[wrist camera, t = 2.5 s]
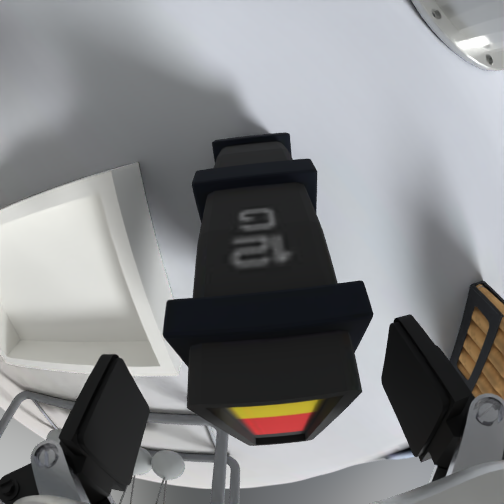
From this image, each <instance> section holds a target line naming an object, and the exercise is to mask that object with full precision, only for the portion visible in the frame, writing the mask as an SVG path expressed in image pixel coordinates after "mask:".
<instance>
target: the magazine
mask: <svg viewBox="0 0 504 504" xmlns="http://www.w3.org/2000/svg"><path fill="white" fill-rule="evenodd" d="M212 146H213V153H214V159H215V166H214V168H213V169H206V170H199V171H196V173H195V176H194V179H193V182H192V188H193V192H194V196H195V200H196V204H197V208H198V212H199V216H200V220H201V223H202V224H201V229H200V234H199V240H198V246H197V256H196V267H195V278H194V289H193V298H187V299H173V300H168V301H167V302H166V309H165V317H164V325H163V337H164V338H165V340H166V341H167V342H168V343H169V345H170V346H171V347H172V348H173V349H174V351H175V352H176V353H177V354H178V356H179V357H180V358H181V359H182V360H183V361H184V363H185V364H186V365H187V366H188V367H189V368H188V394H187V408H188V409H189V410H191V411H192V412H194V413H195V414H197V415H199V416H200V417H202V418H203V419H205V420H206V421H208V422H210V423H211V424H213V425H214V426H216V427H218V428H219V429H221V430H223V431H224V432H226V433H228V434H230V435H231V436H233V437H235V438H237V439H238V440H240V441H242V442H244V443H246V444H247V445H250V446H256V445H271V444H283V443H292V442H301V441H308V440H312V439H314V438H315V437H316V436H317V435H318V434H319V433H320V432H321V431H323V430H324V429H325V428H326V427H327V426H328V425H329V424H330V423H331V422H332V421H333V420H334V419H336V418H337V417H338V416H339V415H340V414H341V413H342V412H343V411H344V410H345V409H346V408H347V407H348V406H349V405H350V404H351V403H352V402H353V401H354V400H355V399H356V398H357V397H358V396H359V395H360V394H361V392H362V389H361V383H360V378H359V373H358V368H357V363H356V359H355V354H354V353H355V351H356V349H357V347H358V345H359V343H360V341H361V339H362V337H363V335H364V333H365V331H366V329H367V327H368V325H369V323H370V321H371V319H372V317H373V311H372V308H371V305H370V301H369V298H368V295H367V292H366V288H365V285H364V283H363V281H353V282H346V283H337V279H336V276H335V272H334V268H333V265H332V261H331V257H330V254H329V250H328V247H327V244H326V240H325V237H324V233H323V230H322V228H321V225H320V222H319V220H318V217H317V215H316V202H317V170H316V168H315V167H314V165H313V163H312V161H311V160H310V159H298V160H293V159H292V157H291V144H290V134H288V133H275V134H264V135H254V136H245V137H236V138H228V139H221V140H215V141H213V142H212Z"/></svg>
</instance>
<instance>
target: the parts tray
mask: <svg viewBox="0 0 504 504" xmlns="http://www.w3.org/2000/svg"><path fill="white" fill-rule="evenodd" d="M173 299H174V298H173V295H172V292H171V288H170V285H169V282H168V278H167V275H166V272H165V268H164V265H163V261H162V258H161V254H160V251H159V247H158V243H157V239H156V236H155V232H154V228H153V224H152V220H151V216H150V212H149V208H148V204H147V199H146V195H145V191H144V186H143V182H142V177H141V173H140V168H139V163H138V162H136V163H132V164H129V165H125V166H121V167H118V168H114V169H111V170H107V171H104V172H100V173H97V174H94V175H91V176H87V177H84V178H81V179H78V180H75V181H72V182H69V183H66V184H63V185H60V186H58V187H55V188H52V189H49V190H46V191H44V192H41V193H38V194H36V195H33V196H31V197H28V198H26V199H23V200H21V201H18V202H16V203H13V204H11V205H9V206H6V207H4V208H2V209H0V355H1V356H2V358H3V360H4V361H5V363H6V364H10V365H15V366H22V367H28V368H35V369H43V370H51V371H60V372H70V373H81V374H91V372H92V370H93V368H94V367H95V365H96V363H97V361H98V359H99V358H100V356H101V355H103V354H117V355H118V356H119V357H120V358H122V359H123V360H124V362H125V364H126V366H127V368H128V370H129V372H130V374H131V376H178V375H179V371H180V367H181V364H182V359H181V358H180V357H179V356H178V354H177V353H176V352H175V351H174V349H173V348H172V347H171V346H170V345H169V343H168V342H167V341H166V340H165V338H164V337H163V325H164V317H165V309H166V302H167V301H168V300H173Z"/></svg>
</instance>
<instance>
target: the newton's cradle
mask: <svg viewBox="0 0 504 504" xmlns="http://www.w3.org/2000/svg"><path fill="white" fill-rule="evenodd" d="M25 399H32V400H33V402H34V403H35V404H36V406H37V407H38V408H39V410H40V411H41V412H42V413H43V415H44V416H45V417H46V418H47V420H48V421H49V422H50V423H51V425H52V426H53V427H54V428H55V429H54V430H51V431H50V432H49V433H48V435H47V439H46V440H53V441H56V442H57V443H58V444H59V443H60V439H59V438H58V437H59V435H60V433H61V431H62V430H60V429H58V428H57V427H56V426H55V425H54V424H53V422H52V421H51V420H50V419H49V417H48V416H47V415H46V414H45V412H44V411H43V410H42V409H41V407H40V406H39V405H38V403H37V402H36V401H39V402H42V403H46V404H50V405H54V406H58V407H62V408H66V409H70V410H72V408H73V406H74V404H75V402H73V401H68V400H63V399H59V398H55V397H50V396H46V395H42V394H38V393H35V392H31V391H24V392H21V393H19V394H18V395H17V396H16V397H15V398H14V399H13V401H12V403H11V404H10V406H9V407H8V409H7V411H6V412H5V414H4V415H3V417H2V419H1V420H0V438H1V436H2V434H3V432H4V430H5V429H6V427H7V425H8V423H9V421H10V420H11V418H12V417H13V415H14V413H15V412H16V410H17V408H18V407H19V405H20V404H21V402H22V401H24V400H25ZM147 422H153V423H165V424H180V425H206V426H207V428H208V431H209V433H210V436H211V438H212V441H213V443H214V445H215V455H210V454H189V453H176V452H174V451H171V450H161V451H156V450H148V449H144V448H142V447H140V449H139V452H138V456H137V460H136V464H135V468H134V472H133V475H134V478H133V485H132V492H131V500H130V504H131V503H132V496H133V488H134V481H135V475H143V474H146V473H148V472H149V471H150V470H151V468H152V469H153V471H154V472H155V473H156V474H157V475H158V476H159V477H161V478H163V481H162V484H161V488H160V491H159V494H158V498H157V501H156V504H157V503H158V499H159V496H160V493H161V489H162V486H163V482H164V480H165V490H164V500H163V504H165V494H166V485H167V480H172V479H176V478H178V477H180V476H181V475H182V474H183V472H184V469H185V464H184V461H192V462H214V469H213V480H212V492H211V503H210V504H224V496H225V479H226V464H228V465H229V466H230V468H231V476H230V496H229V504H239V491H240V467H239V464H238V463H237V461H236V460H235V459H233V458H232V457H230V456H227V448H228V433H226V432H224V431H223V430H221V429H219V428H218V427H216V426H214V425H213V424H211V423H210V422H208V421H206V420H205V419H203V418H202V417H200V416H199V415H179V414H162V413H150V412H149V416H148V420H147ZM211 426H212V427H214V428H215V429H216V431H217V437H216V439H215V436H214V434H213V431H212V428H211ZM127 486H128V485H127ZM127 486H126V489H127ZM125 492H126V490H125ZM125 492H123V495H122V498H121V500H120V503H119V504H121V502H122V499H123V497H124V494H125Z"/></svg>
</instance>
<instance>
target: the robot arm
mask: <svg viewBox="0 0 504 504" xmlns="http://www.w3.org/2000/svg"><path fill="white" fill-rule="evenodd" d="M411 1H412V2H413V4H414V6H415V7H416V9H417V10H418V12H419V13H420V15H421V16H422V18H423V19H424V20H425V21H426V23H427V24H428V25H429V27H430V28H431V29H432V30H433V31H434V33H435V34H436V35H437V36H438V37H439V38H440V39H441V40H442V41H443V42H444V43H445V44H446V45H447V46H448V47H449V48H450V49H451V50H452V51H453V52H454V53H456V54H457V55H459V56H460V57H461V58H463V59H464V60H465V61H467V62H468V63H470V64H472V65H474V66H476V67H478V68H481V69H484V70H487V71H500V70H504V0H411ZM381 379H382V385H383V388H384V390H385V392H386V394H387V396H388V399H389V401H390V403H391V405H392V407H393V409H394V412H395V414H396V416H397V418H398V421H399V423H400V425H401V427H402V430H403V432H404V434H405V437H406V439H407V441H408V444H409V446H410V448H411V451H412V453H413V455H414V456H415V457H417V456H419V459H420V461H421V462H423V461H426V460H428V459H430V458H432V460H433V462H434V464H435V467H434V470H433V473H432V475H431V477H430V480H429V482H428V484H427V485H424V486H421V487H419V488H416V489H414V490H411V491H408V492H405V493H402V494H399V495H396V496H394V497H390V498H387V499H384V500H381V501H377V502H374V503H371V504H504V400H503V399H502V398H501V397H499V396H498V395H495V394H492V393H485V394H481V395H479V396H477V397H476V398H475V397H474V395H473V394H472V392H471V391H470V389H469V388H468V386H467V385H466V384H465V382H464V381H463V379H462V378H461V376H460V375H459V374H458V372H457V371H456V370H455V368H454V367H453V365H452V364H451V363H450V361H449V360H448V359H447V357H446V356H445V355H444V353H443V352H442V351H441V349H440V348H439V347H438V346H436V345H435V344H434V343H433V342H432V340H431V339H430V338H429V336H428V335H427V334H426V332H425V331H424V330H423V329H422V327H421V326H420V325H419V324H418V322H417V321H416V320H415V319H414V317H413V316H412V315H406V316H402V317H398V318H395V320H394V323H391V324H390V327H389V334H388V341H387V348H386V354H385V361H384V366H383V372H382V378H381ZM148 416H149V406H148V404H147V402H146V401H145V399H144V397H143V396H142V394H141V392H140V390H139V388H138V387H137V385H136V383H135V381H134V379H133V377H132V376H131V374H130V372H129V370H128V368H127V366H126V364H125V362H124V360H123V359H122V358H120V357H119V356H118V355H117V354H103V355H101V356H100V358H99V359H98V361H97V363H96V365H95V367H94V368H93V370H92V372H91V374H90V376H89V378H88V379H87V381H86V383H85V385H84V387H83V389H82V391H81V393H80V394H79V396H78V398H77V400H76V402H75V404H74V406H73V408H72V410H71V412H70V414H69V416H68V418H67V420H66V422H65V424H64V426H63V428H62V431H61V433H60V435H59V437H58V438H59V439H60V443H59V444H58V443H57V442H56V441H53V440H46V441H43V442H41V443H39V444H38V445H37V446H36V447H35V448H34V449H33V451H32V454H31V463H30V464H28V465H26V466H24V467H22V468H20V469H18V470H16V471H13V472H11V473H9V474H7V475H5V476H4V477H2V478H1V480H0V504H116V503H115V501H114V500H113V498H112V496H111V494H110V492H111V489H115V490H119V491H124V492H125V490H126V486H127V485H129V484H130V483H131V479H132V475H133V472H134V468H135V464H136V460H137V456H138V452H139V449H140V445H141V441H142V438H143V434H144V430H145V427H146V423H147V420H148Z"/></svg>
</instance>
